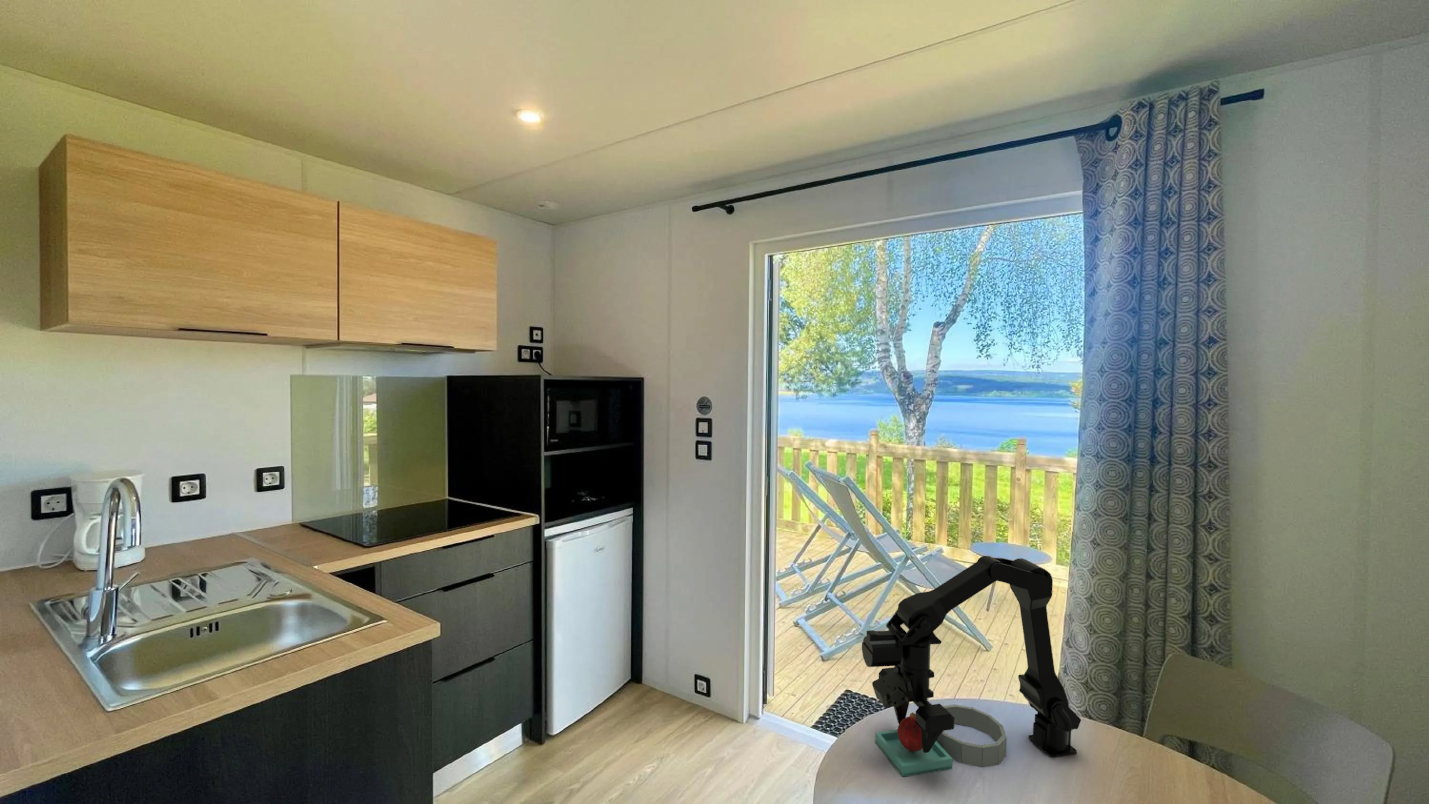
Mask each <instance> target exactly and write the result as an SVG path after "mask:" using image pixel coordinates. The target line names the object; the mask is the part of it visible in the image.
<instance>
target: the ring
mask: <svg viewBox="0 0 1429 804" xmlns="http://www.w3.org/2000/svg"><path fill="white" fill-rule="evenodd" d="M942 706H943V707H944V708H945V709H946V710H947V711H948V712H949V713H950V714H951V715H952V716H953V717H954V718H955V720H954V725H960V726H964V725H966V727H970V728H973V727H974V729H975V730H978V731H980V732H982V733H984V734H986V735H988V736H989V737H990V738H991V739H992V740H994V742H993V743H986V744H977V743H973V742H967V741H963V740H961V739H958V738H957V737H954V736H953V735H949V734H948V733H946V732H945V731H943V732H942V733H941V734H940V736H939V737H938V739H937V740H936V741H937V742H938V744H939V745H940V746H941V747H942V748H943V749H944V750H945V751H946V752H947V753H948V754H949V755H950V756H951V757H952V758H953V760H955V761H957V762H959V763H960V764H963V765H969V766H975V767H979V768H986V767H991V766H997V765H999V764H1001V762H1002V761H1003V760H1004V759H1005V758H1006V756H1007V737H1008V736H1007V734H1006V731H1005V727H1004V725H1003V724H1002V723H1000V722H999V720H997V719H996V718H994V717H993V715H991V714H988V713H986V712H984V711H982V710H980V709H977V708H974V707H973V706H966V705H959V704H948V705H947V704H946V705H942Z"/></svg>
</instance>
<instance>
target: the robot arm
mask: <svg viewBox="0 0 1429 804" xmlns="http://www.w3.org/2000/svg"><path fill="white" fill-rule="evenodd" d="M1053 581H1054V580H1053V576H1052V574H1051V573H1050V572H1049V571H1048V570H1046V568H1043V567H1041V566H1039V565H1038V564H1035V563H1033V562H1032V561H1029V560H1028V559H1025V558H1021V557H1020V558H1015V559H1014V560H1012V559H1009V558H1004V557H993V556H990V555H982V556H980V557H979V558H977V561H976V562H974V563H973V564H971V565H969V566H968V567H967V568H965V569H964V570H962V571H960V572H959V573H957V574H956V575H954V576H952V577H951V578H949V579H948V580H946V581H945V582H944V583H942V584H940V585H938V586H936V587H935V588H934V589H932V590H929V591H924V592H917V593H914V594H912V595H910V596H908V597H905V598H903V599H902V600H901V601H899V603H898V604H897V606H898V607H897V609H896V611H895V613H894V614H893V615H892V617H890V619H889V620H888V621H887V623H886V624H885V627H886V628H887V629H888V630H872V629H871V630H867V631H866V635H865V636H864V637H863V639H862V642H861V652H862V658H863V661H864V663H865V665H866V666H867V667H868V668H877V667H879V668H881V667H882V668H881V670H880V671H879V672H878V678H877V679H875V680H874V681H872V683H871V684H872V688H873V691H874V692H873V693H874V694H875V698H876V699H877V700H878V701H879V702H880V703H881V704H882V706H883V707H884V708H886V709H889V708H890V709H891V708H892V707H893V710H894V712H895V717H896V721H897V723H898V725H899V724H900V722H901V720H903V719H904V718H906V717H907V713H908V709H909V705H910V703H911V702H912V703H914V705H915V706H916V707H917V709H916V710H915V713H914V714H915V717H916V720H917V721H916V722H915V723H916V724H917V725H918V726H919V727H920V728H921V736H922V748H923V752H924V753H928V752H929V751H930V750H931V748H932V746H933V745H934V743H935V742H936V740H937V739H938V737H939V736H940V734H941V733H942V732H943V731H944V732H945V731H950V730H951V731H952V730H954V729H955V724H954V720H955V718H954V717H953V716H952V715H951V714H950V713H949V712H948V711H947V710H946V709H945V708H944V707H943V706H944V705H942V704H941V703H935V704H932V703H931V702H930V701H929V700H928V699H931V698H934V694H935V693H934V691H933V690H932V689H931V688H930V679H933V678H935V671H933V670H932V669H931V645H941V644H942V640H941V639H940V638H938V636H936V634H935V632H934V631H936V630H937V629H938V628H939V627H940V626H941V625H942V624H943V622H944V621H945V618H946V616H947V615H948V614H949V612H951V611H952V610H953V609H955V608H957V607H958V606H960V605H962V604H963V603H964V602H966V601H967V600H969V599H971V598H972V597H974V596H975V595H977V594H978V593H980V592H981V591H983V590H985V589H986V588H988V587H989V586H992V584H994V583H995V582H1001V583H1004V584H1007V585H1009V587H1010V589H1011V592H1012V594H1013V595H1014V596H1015V598H1016V600H1017V602H1018V604H1019V610H1020V617H1021V624H1022V631H1023V632H1022V633H1023V640H1024V641H1023V642H1024V646H1025V654H1026V662H1027V669H1026V671H1025V672H1024V674H1023V673H1022V674H1018V675H1017V677H1018V678H1017V679H1018V682H1019V690H1018V692H1020V693H1021V694H1022V695H1023V698H1024V699H1026V701H1028V704H1029V706H1030V707H1031V708H1032V709H1033V710H1035V711H1036V712H1037V713H1035V714H1034V722H1032V723H1033V724H1032V727H1033V728H1032V734H1028V737H1027V738H1028V739H1029V741H1031V742H1032V743H1033V744H1035V745H1036V746H1037V747H1039V748H1040V750H1041V751H1043V752H1044V753H1045V754H1046V755H1048V756H1049V757H1050V758H1055V757H1063V756H1068V755H1073V754H1077V753H1078V751H1077V749H1076V748H1075V747H1074V746H1072V745H1071V740H1072V731H1073V730H1078V729H1079V727H1080V724H1081V721H1082V719H1081V717H1080V716H1078V714H1076V712H1074V711H1073V710H1072V709H1071V707H1070V706H1069V705H1070V704H1069V699H1068V696H1067V694H1066V689H1065V688H1064V686H1063V684H1062V682H1061V681H1060V679H1059V677H1058V675H1057V674H1056V671H1055V664H1054V656H1053V649H1052V641H1051V640H1052V639H1051V634H1050V632H1051V631H1050V625H1049V619H1048V617H1049V616H1048V609H1047V606H1048V604H1049V603H1050V600H1051V599H1052V597H1053ZM902 625H904V626H905V628H907V629H908V630H907V631H906V630H905V629H904V628H903V627H902ZM883 667H884V668H883ZM885 667H886V668H885Z"/></svg>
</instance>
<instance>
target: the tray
mask: <svg viewBox="0 0 1429 804" xmlns="http://www.w3.org/2000/svg"><path fill="white" fill-rule="evenodd" d="M897 730H898V728H897V729H889V730H883V731H875V732H874V733H875V735H874V736H875V737H874V738H875V740H874V742H875V744H876V745H877V746H878V747H879V749H880V750H881V751H882V753H883V754H884V755H885V757H886V758H887V760H889V762H890V763H891V764H892V766H893V768H894V769H895V770H896V771H897V772H898V774H899V775H900V776H901V778H905V777H912V776H917V775H923V774H929V773H935V772H941V771H942V772H943V771H948V770H953V766H954V765H953V764H954V763H953V762H954V761H953V760H954V759H953V758H952V757H951V756H950V755H949V754H948V753H947V752H946V751H945V750H944V749H943V748H942V747H941V746H940V745H939V744H938V742H937V741H936V742H935V743H934V745H933V746H932V748H931V750H930V751H929V752H928V753H924V752H923V748H922V749H921V750H919V751H915V752H911V751H909V750H907V749H906V748H905V747H904V746H903V745H902V744H901V742H900V740H899V738H898V732H897Z"/></svg>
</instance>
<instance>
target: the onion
mask: <svg viewBox="0 0 1429 804" xmlns="http://www.w3.org/2000/svg"><path fill="white" fill-rule="evenodd" d="M915 714H916V713H914V712H910V714H909V716H906V718H904V719H903V720H901V722H900V724H899V723H898V725H897V729H898V730H897V732H898V738H899V740H900V742H901V744H902V745H903V746H904V747H905V748H906V749H907V750H909V751H911V752H915V751H919V750H921V749H922V736H921V728H920V727H919V726H918V725H917V724H916V723H915V722H916V721H917V720H916V717H915Z"/></svg>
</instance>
